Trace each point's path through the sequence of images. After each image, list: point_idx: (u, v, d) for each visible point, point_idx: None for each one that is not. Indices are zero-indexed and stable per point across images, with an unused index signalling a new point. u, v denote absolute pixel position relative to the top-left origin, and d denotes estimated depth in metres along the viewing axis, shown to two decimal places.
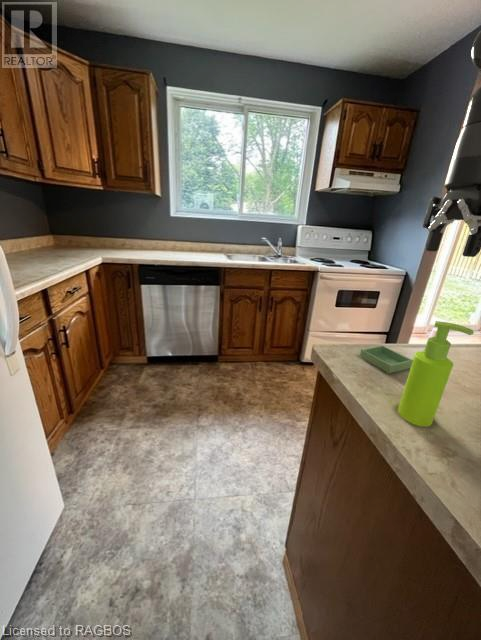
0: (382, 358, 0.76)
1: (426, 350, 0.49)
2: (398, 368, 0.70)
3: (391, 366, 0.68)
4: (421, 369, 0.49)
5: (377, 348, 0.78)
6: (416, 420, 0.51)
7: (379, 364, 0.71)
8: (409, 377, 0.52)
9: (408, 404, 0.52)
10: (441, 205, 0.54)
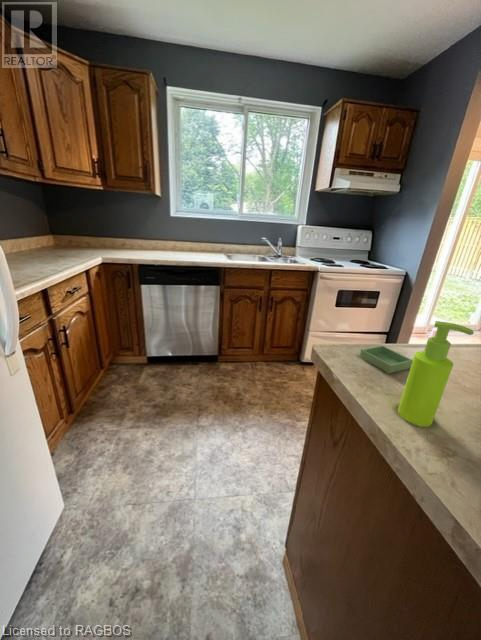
0: (382, 358, 0.76)
1: (426, 350, 0.49)
2: (398, 368, 0.70)
3: (391, 366, 0.68)
4: (421, 369, 0.49)
5: (377, 348, 0.78)
6: (416, 420, 0.51)
7: (379, 364, 0.71)
8: (409, 377, 0.52)
9: (408, 404, 0.52)
10: None
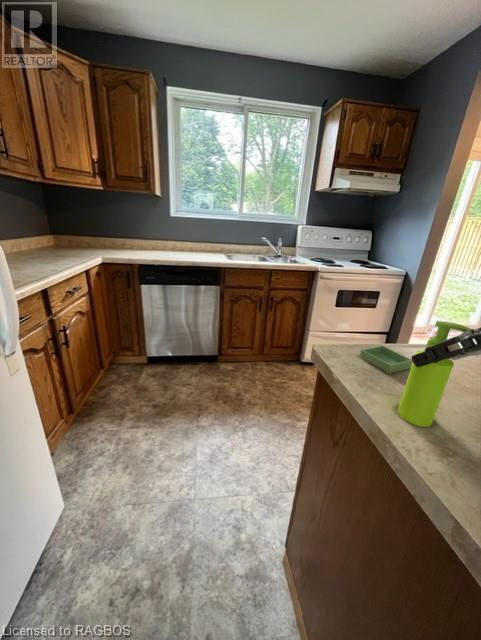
0: (382, 358, 0.76)
1: None
2: (398, 368, 0.70)
3: (391, 366, 0.68)
4: (421, 368, 0.49)
5: (377, 348, 0.78)
6: (416, 420, 0.51)
7: (379, 364, 0.71)
8: (409, 376, 0.52)
9: (408, 404, 0.52)
10: None
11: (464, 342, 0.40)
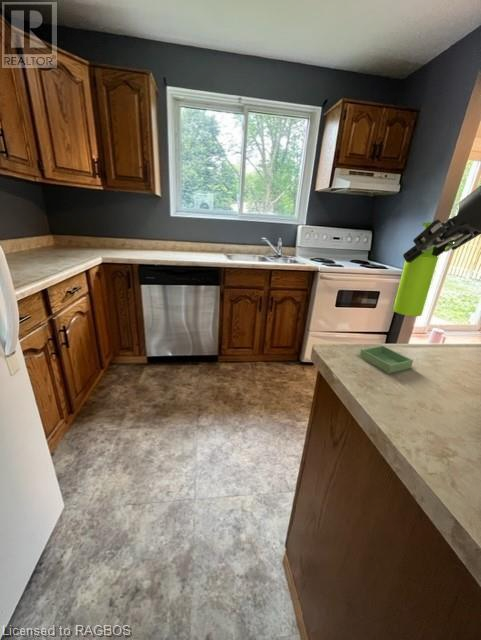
0: (382, 358, 0.76)
1: None
2: (398, 368, 0.70)
3: (391, 366, 0.68)
4: (411, 263, 0.59)
5: (377, 348, 0.78)
6: (408, 310, 0.61)
7: (379, 364, 0.71)
8: (402, 275, 0.61)
9: (401, 298, 0.62)
10: None
11: (443, 223, 0.50)
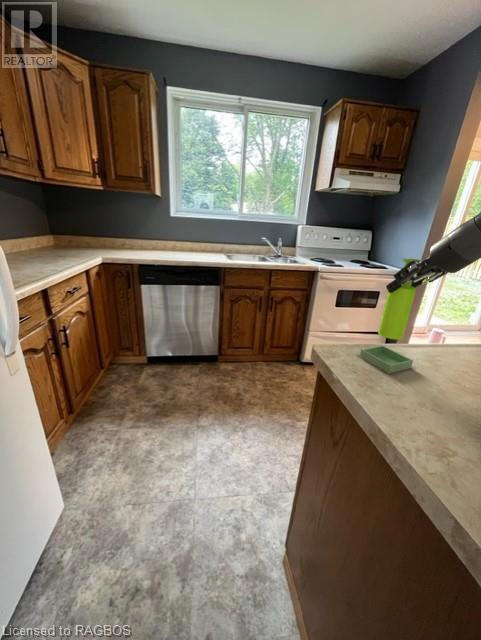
0: (382, 358, 0.76)
1: None
2: (398, 368, 0.70)
3: (391, 366, 0.68)
4: (393, 293, 0.67)
5: (377, 348, 0.78)
6: (390, 334, 0.69)
7: (379, 364, 0.71)
8: (385, 303, 0.70)
9: (384, 323, 0.70)
10: None
11: (418, 264, 0.58)
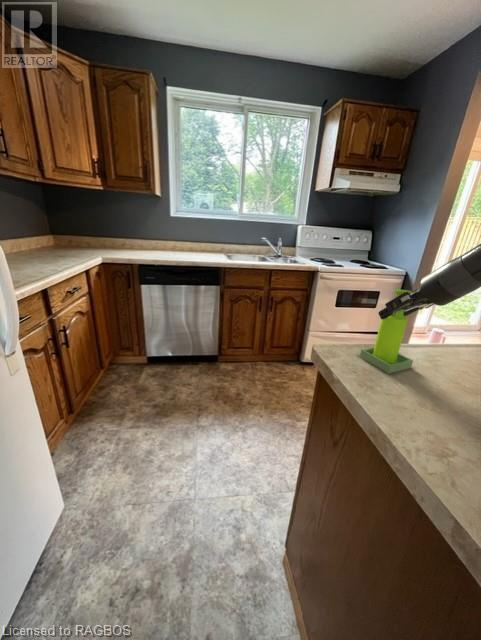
0: None
1: None
2: (398, 368, 0.70)
3: (391, 366, 0.68)
4: (385, 323, 0.69)
5: None
6: None
7: (379, 364, 0.71)
8: (378, 330, 0.72)
9: (378, 350, 0.72)
10: None
11: (411, 295, 0.60)
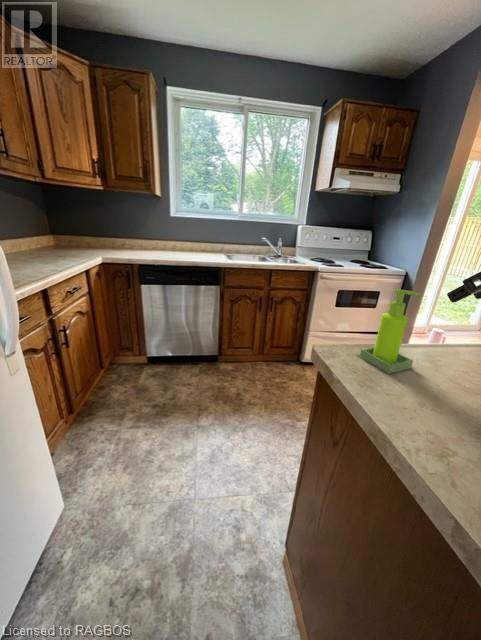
0: None
1: (389, 310, 0.70)
2: (398, 368, 0.70)
3: (391, 366, 0.68)
4: (385, 323, 0.69)
5: None
6: None
7: (379, 364, 0.71)
8: (378, 330, 0.72)
9: (378, 350, 0.72)
10: None
11: None
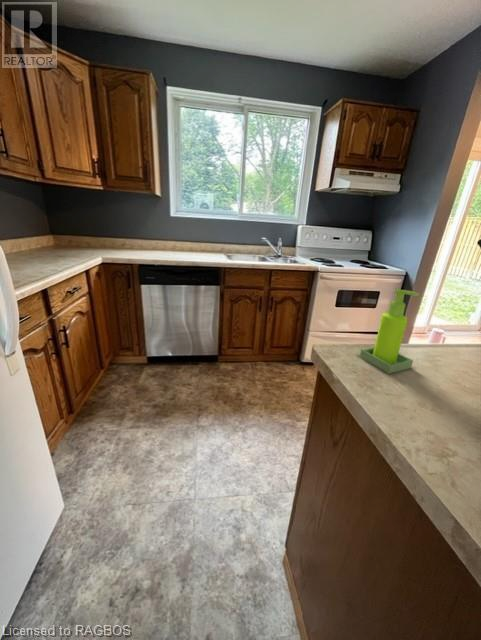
0: None
1: (389, 310, 0.70)
2: (398, 368, 0.70)
3: (391, 366, 0.68)
4: (385, 323, 0.69)
5: None
6: None
7: (379, 364, 0.71)
8: (378, 330, 0.72)
9: (378, 350, 0.72)
10: None
11: None
